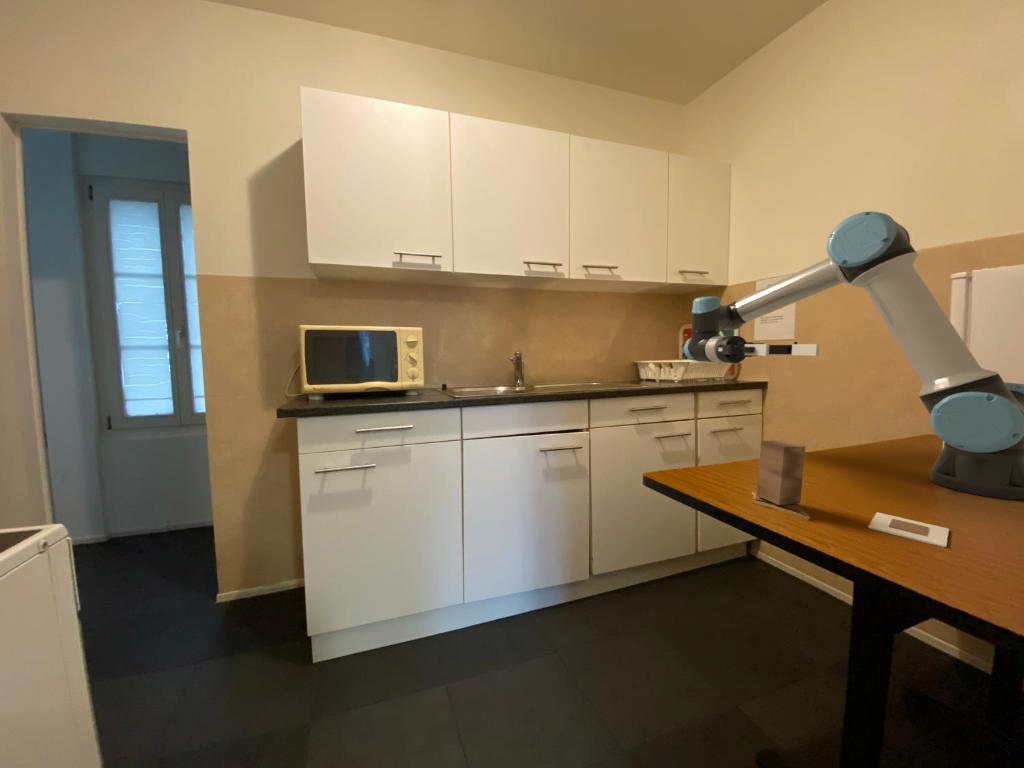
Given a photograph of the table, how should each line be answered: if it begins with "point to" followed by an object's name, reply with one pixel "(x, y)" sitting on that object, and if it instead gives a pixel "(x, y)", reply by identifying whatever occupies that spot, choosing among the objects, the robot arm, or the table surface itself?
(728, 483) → the table surface
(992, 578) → the table surface
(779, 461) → the walnut block
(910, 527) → the swatch
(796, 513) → the shard
